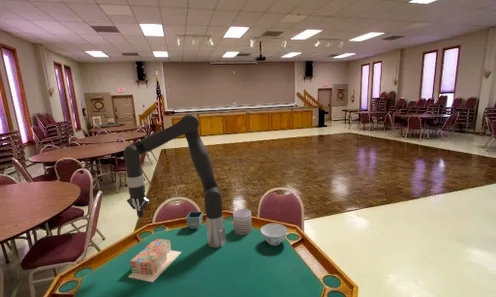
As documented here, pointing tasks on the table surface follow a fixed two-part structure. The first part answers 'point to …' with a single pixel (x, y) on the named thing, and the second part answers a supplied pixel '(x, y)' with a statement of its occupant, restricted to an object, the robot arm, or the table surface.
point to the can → (242, 221)
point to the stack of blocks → (151, 257)
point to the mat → (151, 278)
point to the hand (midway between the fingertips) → (140, 216)
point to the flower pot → (194, 219)
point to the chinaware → (274, 233)
